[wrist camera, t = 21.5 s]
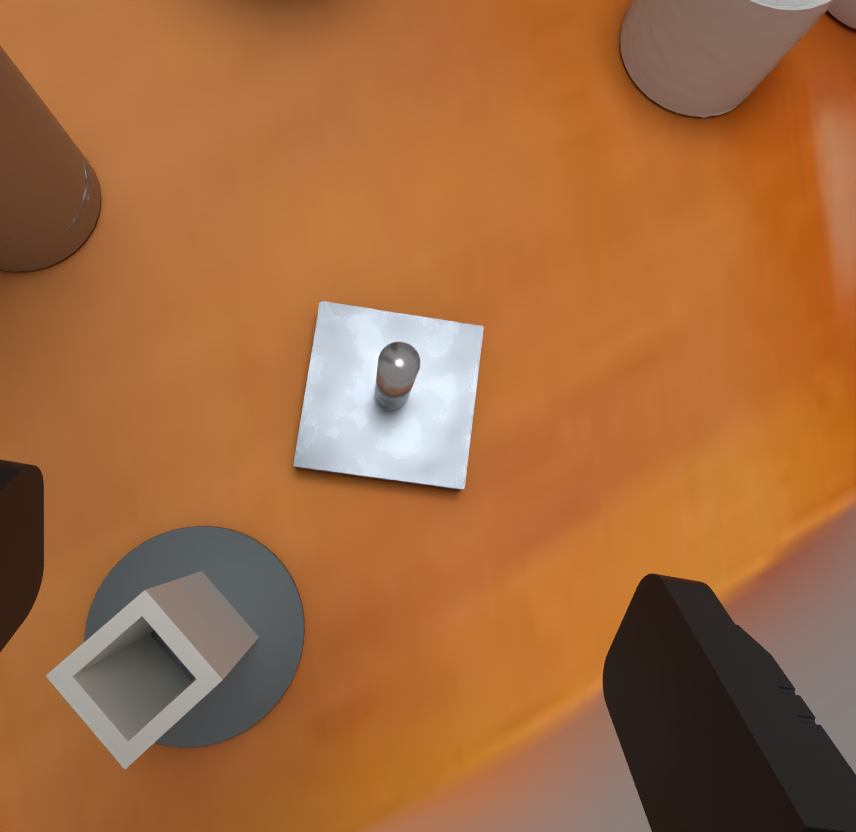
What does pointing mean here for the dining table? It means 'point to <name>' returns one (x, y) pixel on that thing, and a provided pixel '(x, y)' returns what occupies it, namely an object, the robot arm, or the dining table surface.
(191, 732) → the mat
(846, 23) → the fruit juice
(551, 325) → the dining table surface
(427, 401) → the post stand
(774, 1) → the toilet tissue
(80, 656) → the sleeve
